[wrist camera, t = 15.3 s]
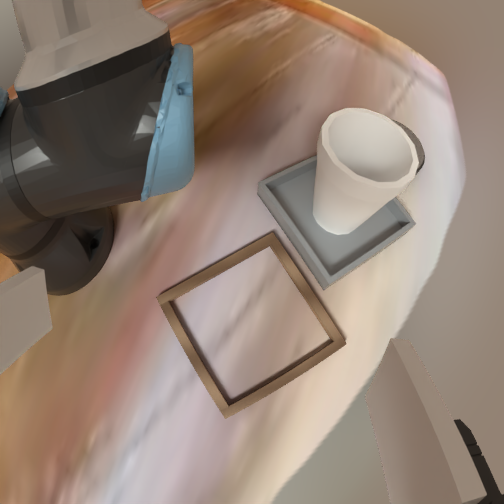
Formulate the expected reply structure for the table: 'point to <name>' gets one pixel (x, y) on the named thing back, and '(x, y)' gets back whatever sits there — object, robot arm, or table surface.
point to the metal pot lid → (417, 145)
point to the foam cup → (359, 168)
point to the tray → (319, 240)
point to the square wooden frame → (220, 268)
